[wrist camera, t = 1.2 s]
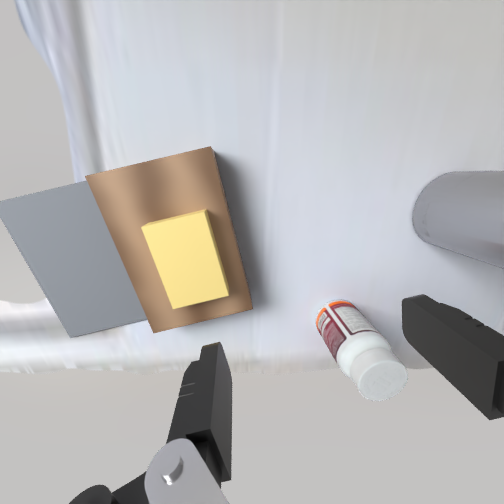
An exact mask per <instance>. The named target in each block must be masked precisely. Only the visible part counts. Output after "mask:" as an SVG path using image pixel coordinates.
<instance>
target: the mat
mask: <svg viewBox="0 0 504 504" xmlns="http://www.w3.org/2000/svg"><path fill="white" fill-rule="evenodd" d="M0 218H1V219H2V221H3V223H4V225H5V227H6V228H7V230H8V232H9V233H10V235H11V237H12V239H13V240H14V242H15V244H16V245H17V247H18V249H19V251H20V252H21V254H22V256H23V257H24V259H25V261H26V263H27V264H28V266H29V268H30V270H31V271H32V273H33V275H34V276H35V278H36V280H37V282H38V283H39V285H40V287H41V288H42V290H43V292H44V294H45V295H46V297H47V299H48V301H49V302H50V304H51V306H52V307H53V309H54V311H55V313H56V314H57V316H58V318H59V319H60V321H61V323H62V325H63V326H64V328H65V330H66V331H67V333H68V335H69V337H70V338H72V337H76V336H80V335H84V334H88V333H92V332H96V331H101V330H105V329H109V328H113V327H117V326H121V325H125V324H129V323H133V322H138V321H142V320H146V319H147V317H146V315H145V312H144V310H143V308H142V306H141V303H140V301H139V299H138V296H137V294H136V292H135V290H134V287H133V285H132V283H131V280H130V278H129V276H128V274H127V271H126V269H125V267H124V264H123V262H122V260H121V257H120V255H119V253H118V251H117V248H116V246H115V244H114V241H113V239H112V237H111V235H110V232H109V230H108V228H107V225H106V223H105V221H104V219H103V216H102V214H101V212H100V209H99V207H98V205H97V203H96V200H95V198H94V196H93V193H92V191H91V189H90V187H89V184H88V182H87V181H83V182H79V183H75V184H71V185H67V186H62V187H58V188H54V189H50V190H45V191H42V192H37V193H33V194H28V195H24V196H20V197H16V198H12V199H7V200H4V201H0Z"/></svg>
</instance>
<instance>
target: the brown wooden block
mask: <svg viewBox="0 0 504 504" xmlns="http://www.w3.org/2000/svg"><path fill="white" fill-rule="evenodd" d="M85 177H86V180H87V182H88V184H89V187H90V189H91V191H92V193H93V196H94V198H95V200H96V203H97V205H98V207H99V209H100V212H101V214H102V216H103V219H104V221H105V223H106V225H107V228H108V230H109V232H110V235H111V237H112V239H113V241H114V244H115V246H116V248H117V251H118V253H119V255H120V257H121V260H122V262H123V264H124V267H125V269H126V271H127V274H128V276H129V278H130V280H131V283H132V285H133V287H134V290H135V292H136V294H137V296H138V299H139V301H140V303H141V306H142V308H143V310H144V312H145V315H146V317H147V319H148V322H149V324H150V326H151V328H152V331H153V333H157V332H161V331H165V330H169V329H173V328H177V327H181V326H185V325H189V324H194V323H198V322H202V321H206V320H210V319H214V318H218V317H222V316H226V315H231V314H235V313H239V312H243V311H247V310H251V309H253V307H252V301H251V294H250V290H249V286H248V282H247V278H246V274H245V271H244V267H243V263H242V259H241V255H240V251H239V247H238V243H237V239H236V235H235V232H234V228H233V224H232V220H231V216H230V212H229V208H228V204H227V200H226V196H225V193H224V189H223V185H222V181H221V177H220V173H219V169H218V165H217V161H216V158H215V154H214V150H213V149H212V148H211V146H210V147H206V148H202V149H197V150H193V151H189V152H185V153H181V154H176V155H172V156H168V157H164V158H159V159H155V160H151V161H147V162H143V163H138V164H134V165H130V166H126V167H122V168H117V169H113V170H109V171H105V172H100V173H96V174H92V175H88V176H85ZM205 209H207V213H208V216H209V220H210V223H211V227H212V230H213V234H214V237H215V241H216V244H217V248H218V251H219V255H220V258H221V262H222V265H223V268H224V272H225V275H226V279H227V282H228V286H229V296H225V297H221V298H217V299H213V300H209V301H205V302H201V303H197V304H192V305H188V306H184V307H180V308H176V309H173V308H172V306H171V303H170V300H169V298H168V295H167V293H166V290H165V288H164V285H163V282H162V280H161V277H160V275H159V272H158V270H157V267H156V264H155V262H154V259H153V257H152V254H151V252H150V249H149V246H148V244H147V241H146V239H145V236H144V233H143V231H142V228H141V227H142V226H144V225H146V224H147V223H150V222H155V221H159V220H163V219H167V218H171V217H176V216H180V215H184V214H188V213H192V212H196V211H201V210H205Z"/></svg>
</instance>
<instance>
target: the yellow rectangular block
mask: <svg viewBox="0 0 504 504" xmlns="http://www.w3.org/2000/svg"><path fill="white" fill-rule="evenodd" d="M141 228H142V231H143V233H144V236H145V239H146V241H147V244H148V246H149V249H150V252H151V254H152V257H153V259H154V262H155V264H156V267H157V270H158V272H159V275H160V277H161V280H162V282H163V285H164V288H165V290H166V293H167V295H168V298H169V300H170V303H171V306H172V308H173V309H176V308H180V307H184V306H188V305H192V304H197V303H201V302H205V301H209V300H213V299H217V298H221V297H225V296H229V286H228V282H227V279H226V275H225V272H224V268H223V265H222V262H221V258H220V255H219V251H218V248H217V244H216V241H215V237H214V234H213V230H212V227H211V223H210V220H209V216H208V213H207V209H205V210H201V211H196V212H192V213H188V214H184V215H180V216H176V217H171V218H167V219H163V220H159V221H155V222H150V223H147V224H146V225H144V226H142V227H141Z"/></svg>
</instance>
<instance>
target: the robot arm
mask: <svg viewBox="0 0 504 504" xmlns="http://www.w3.org/2000/svg"><path fill="white" fill-rule="evenodd" d="M413 226H414V228H415V231H416V233H417V234H418V236H419V237H420V238H421V239H422V240H424V241H426V242H428V243H430V244H433V245H436V246H439V247H442V248H445V249H448V250H451V251H454V252H456V253H459V254H462V255H465V256H468V257H471V258H474V259H477V260H480V261H483V262H486V263H489V264H492V265H495V266H498V267H501V268H504V171H468V172H451V173H446V174H444V175H442V176H439V177H438V178H436V179H435V180H433V181H432V182H430V183H429V184H428V185H427V186H426V187H425V188H424V190H423V191H422V193H421V194H420V195H419V197H418V199H417V201H416V203H415V207H414V210H413ZM402 329H403V333H404V336H405V338H406V340H407V341H408V342H409V344H410V345H411V346H412V347H414V348H415V349H416V350H417V351H418V352H419V353H420V354H421V355H422V356H423V357H424V358H425V359H426V360H427V361H428V362H429V363H430V364H431V365H432V366H433V367H434V368H436V369H437V370H438V371H439V372H440V373H441V374H442V375H443V376H444V377H445V378H446V379H447V380H448V381H449V382H450V383H451V384H452V385H453V386H454V387H456V388H457V389H458V390H459V391H460V392H461V393H462V394H463V395H464V396H465V397H466V398H467V399H468V400H469V401H470V402H471V403H472V404H473V405H474V406H475V407H476V408H477V409H478V410H480V411H481V412H482V413H483V414H484V415H485V416H486V417H487V418H488V419H489V420H493V419H497V418H501V417H504V336H503V335H502V334H500V333H498V332H497V331H495V330H493V329H491V328H490V327H488V326H484V324H483V323H481V322H480V321H478V320H476V319H473V318H472V317H471V316H470V315H468V314H466V313H464V312H463V311H461V310H459V309H457V308H454V307H452V306H449V305H446V304H443V303H440V304H439V303H438V302H436V301H435V300H433V299H431V298H430V297H428V296H426V295H423V294H422V295H417V296H413V297H409V298H405V299H403V301H402ZM231 443H232V378H231V372H230V369H229V365H228V362H227V359H226V356H225V353H224V350H223V347H222V345H221V343H220V342H218V343H214V344H209V345H205V346H203V347H202V349H201V354H200V360H198V361H193V362H191V364H190V365H189V367H188V368H187V370H186V371H185V373H184V377H183V381H182V384H181V388H180V392H179V398H178V400H177V404H176V408H175V412H174V416H173V419H172V423H171V428H170V431H169V435H168V439H167V442H166V445H165V446H163V447H162V448H161V449H160V450H159V451H158V452H157V454H156V455H155V456H154V458H153V459H152V461H151V462H150V464H149V466H148V469H147V471H146V472H145V473H144V474H142V475H140V476H139V477H137V478H136V479H134V480H132V481H131V482H129V483H127V484H126V485H124V486H122V487H121V488H119V489H117V490H116V491H114V492H113V493H111V492H110V490H109V489H108V488H107V487H106V486H104V485H95V486H92V487H90V488H88V489H86V490H85V491H83V492H82V493H80V494H79V495H78V496H77V497H75V499H73V500H72V501H71V502H70V503H69V504H229V502H228V501H227V499H226V497H225V496H224V494H223V492H222V491H221V482H225V481H229V480H231V447H232V445H231Z"/></svg>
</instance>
